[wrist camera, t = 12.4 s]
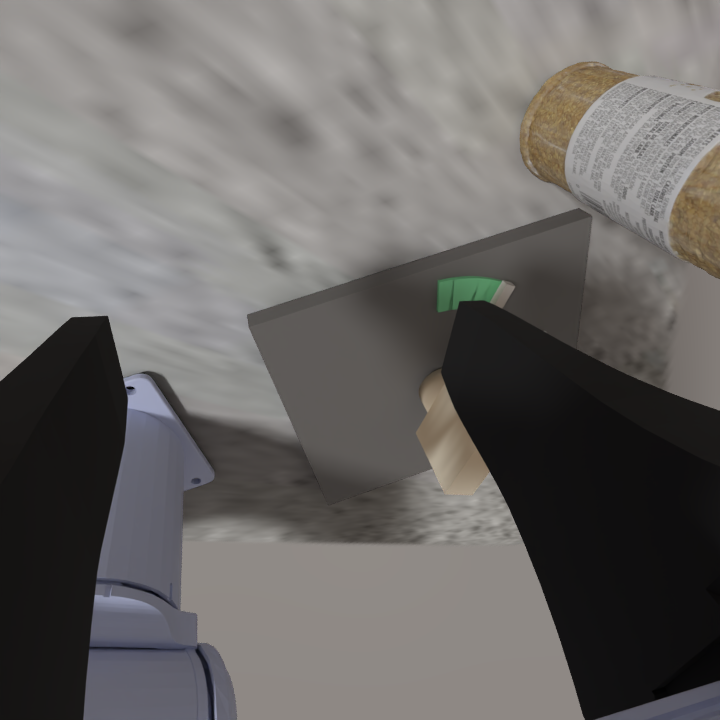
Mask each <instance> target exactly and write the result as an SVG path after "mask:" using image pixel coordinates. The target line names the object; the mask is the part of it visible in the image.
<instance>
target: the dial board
mask: <svg viewBox="0 0 720 720" xmlns="http://www.w3.org/2000/svg"><path fill="white" fill-rule="evenodd" d="M591 222H592V216H591V215H589V214H588V213H586V212H584V211H583V210H581V209H579V208H578V209H575V210H572V211H569V212H565V213H562V214H559V215H556V216H553V217H550V218H547V219H544V220H541V221H537V222H534V223H531V224H528V225H525V226H522V227H519V228H516V229H513V230H510V231H506V232H503V233H500V234H497V235H494V236H491V237H488V238H485V239H482V240H478V241H475V242H472V243H469V244H466V245H463V246H460V247H457V248H454V249H450V250H447V251H444V252H441V253H438V254H435V255H432V256H429V257H426V258H423V259H419V260H416V261H413V262H410V263H407V264H404V265H401V266H398V267H395V268H391V269H388V270H385V271H382V272H379V273H376V274H373V275H370V276H367V277H363V278H360V279H357V280H354V281H351V282H348V283H345V284H342V285H339V286H335V287H332V288H329V289H326V290H323V291H320V292H317V293H314V294H311V295H308V296H304V297H301V298H298V299H295V300H292V301H289V302H286V303H283V304H280V305H276V306H273V307H270V308H267V309H264V310H261V311H258V312H255V313H252V314H248V315H247V318H248V325H249V329H250V331H251V333H252V336H253V338H254V340H255V342H256V344H257V347H258V349H259V351H260V353H261V356H262V358H263V360H264V362H265V365H266V367H267V369H268V371H269V374H270V376H271V378H272V380H273V383H274V385H275V387H276V389H277V392H278V394H279V396H280V398H281V400H282V403H283V405H284V407H285V409H286V412H287V414H288V416H289V418H290V421H291V423H292V425H293V427H294V430H295V432H296V434H297V436H298V439H299V441H300V443H301V445H302V447H303V450H304V452H305V454H306V456H307V459H308V461H309V463H310V465H311V468H312V470H313V472H314V474H315V477H316V479H317V481H318V483H319V486H320V488H321V490H322V492H323V494H324V497H325V499H326V501H327V503H328V505H331V504H334V503H336V502H339V501H342V500H345V499H348V498H351V497H353V496H356V495H359V494H362V493H365V492H368V491H370V490H373V489H376V488H379V487H382V486H385V485H387V484H390V483H393V482H396V481H399V480H402V479H404V478H407V477H410V476H413V475H416V474H419V473H421V472H424V471H427V470H430V469H433V468H432V466H431V464H430V462H429V460H428V458H427V456H426V454H425V452H424V449H423V447H422V445H421V443H420V441H419V439H418V437H417V435H416V432H417V430H418V428H419V426H420V425H421V423H422V421H423V420H424V418H425V416H426V414H427V413H428V412H427V411H426V409H425V407H424V405H423V403H422V401H421V399H420V397H419V387H420V385H421V383H422V381H423V380H424V379H425V378H426V377H427V376H428V375H429V374H431V373H432V372H434V371H436V370H438V369H441V368H442V365H443V362H444V358H445V354H446V350H447V347H448V343H449V339H450V335H451V331H452V328H453V324H454V320H455V316H456V312H457V309H458V305H459V301H477V300H485V301H487V302H489V303H490V301H491V299H492V298H493V296H494V294H495V293H496V291H497V289H498V287H499V286H500V284H501V282H502V281H503V280H504V281H508V282H511V283H512V284H513V285H514V286H515V288H514V290H513V292H512V293H511V295H510V297H509V298H508V300H507V302H506V303H505V305H504V307H503V308H502V309H504V310H506V311H508V312H510V313H512V314H513V315H515V316H517V317H519V318H521V319H523V320H524V321H526V322H528V323H530V324H532V325H533V326H535V327H537V328H539V329H540V330H542V331H544V332H546V333H548V334H549V335H551V336H553V337H555V338H557V339H558V340H560V341H562V342H564V343H566V344H567V345H569V346H571V347H573V348H575V349H576V348H577V339H578V331H579V323H580V314H581V306H582V297H583V289H584V281H585V272H586V264H587V255H588V247H589V238H590V230H591Z"/></svg>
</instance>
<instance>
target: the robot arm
mask: <svg viewBox="0 0 720 720" xmlns="http://www.w3.org/2000/svg"><path fill="white" fill-rule="evenodd" d="M441 374H442V377H443V380H444V383H445V386H446V388H447V391H448V394H449V396H450V399H451V401H452V404H453V406H454V409H455V410H456V412H457V414H458V416H459V418H460V420H461V422H462V423H463V425H464V427H465V429H466V431H467V432H468V434H469V436H470V438H471V440H472V441H473V443H474V445H475V447H476V448H477V450H478V452H479V454H480V455H481V457H482V459H483V461H484V462H485V464H486V466H487V468H488V469H489V471H490V473H491V475H492V476H493V478H494V480H495V482H496V483H497V485H498V487H499V489H500V491H501V493H502V495H503V497H504V499H505V501H506V503H507V505H508V507H509V509H510V512H511V514H512V516H513V518H514V521H515V523H516V525H517V528H518V530H519V532H520V535H521V537H522V539H523V542H524V544H525V546H526V549H527V551H528V554H529V557H530V559H531V561H532V564H533V567H534V569H535V572H536V574H537V577H538V579H539V582H540V584H541V587H542V590H543V593H544V596H545V598H546V601H547V604H548V607H549V610H550V612H551V615H552V618H553V621H554V624H555V626H556V629H557V632H558V635H559V638H560V641H561V644H562V647H563V651H564V654H565V657H566V660H567V663H568V666H569V670H570V673H571V676H572V679H573V682H574V685H575V689H576V693H577V696H578V699H579V703H580V707H581V710H582V714H583V716H584V718H585V720H720V411H718V410H716V409H713V408H710V407H707V406H704V405H702V404H699V403H696V402H693V401H690V400H687V399H684V398H682V397H679V396H677V395H674V394H672V393H669V392H667V391H664V390H662V389H660V388H657V387H655V386H652V385H650V384H648V383H645V382H643V381H641V380H638V379H636V378H634V377H631V376H629V375H627V374H625V373H623V372H620V371H618V370H616V369H614V368H612V367H610V366H608V365H606V364H604V363H602V362H600V361H598V360H596V359H594V358H592V357H590V356H588V355H586V354H584V353H582V352H581V351H579V350H577V349H575V348H573V347H571V346H569V345H567V344H566V343H564V342H562V341H560V340H558V339H557V338H555V337H553V336H551V335H549V334H548V333H546V332H544V331H542V330H540V329H539V328H537V327H535V326H533V325H532V324H530V323H528V322H526V321H524V320H523V319H521V318H519V317H517V316H515V315H513V314H512V313H510V312H508V311H506V310H504V309H502V308H500V307H498V306H496V305H494V304H492V303H489V302H487V301H485V300H477V301H459V305H458V309H457V312H456V316H455V320H454V324H453V328H452V331H451V335H450V339H449V343H448V347H447V350H446V354H445V358H444V362H443V365H442V369H441ZM127 386H132V387H134V388H135V389H132V390H130V389H127V388H126V387H127ZM214 477H215V472H214V470H213V468H212V467H211V465H210V464H209V462H208V461H207V459H206V458H205V456H204V455H203V453H202V452H201V450H200V449H199V447H198V446H197V444H196V443H195V441H194V440H193V438H192V437H191V435H190V434H189V432H188V431H187V429H186V428H185V426H184V425H183V423H182V422H181V420H180V419H179V417H178V416H177V414H176V413H175V412H174V410H173V409H172V407H171V406H170V404H169V403H168V401H167V400H166V398H165V397H164V395H163V394H162V392H161V391H160V389H159V388H158V386H157V385H156V383H155V382H154V380H153V379H152V378H151V377H150V376H149V375H146V374H135V375H132V376H129V377H126V378H123V375H122V371H121V367H120V363H119V359H118V355H117V351H116V347H115V343H114V339H113V335H112V331H111V327H110V323H109V319H108V316H95V317H72V318H70V319H69V320H68V321H67V322H66V323H64V324H63V325H62V326H61V327H60V328H59V329H58V330H57V331H55V332H54V333H53V334H52V335H51V336H50V337H49V338H48V339H47V340H46V341H45V342H44V343H43V344H41V345H40V346H39V347H38V348H37V349H36V350H35V351H34V352H33V353H32V354H31V355H29V356H28V357H27V358H26V359H25V360H24V361H23V362H22V363H20V364H19V365H18V366H17V367H16V368H15V369H14V370H13V371H12V372H10V373H9V374H8V375H7V376H6V377H5V378H4V379H3V380H1V381H0V720H237V713H236V712H237V711H236V700H235V694H234V689H233V685H232V681H231V678H230V676H229V673H228V671H227V670H226V667H225V664H224V662H223V660H222V658H221V656H220V654H219V652H218V651H217V650H216V649H215V648H214V647H213V646H211V645H209V644H207V643H197V614H196V613H190V612H184V611H180V602H181V568H182V565H181V564H182V533H183V498H184V491H186V490H189V489H192V488H195V487H198V486H201V485H204V484H207V483H209V482H211V481H212V480H213V479H214ZM194 478H197V479H194Z"/></svg>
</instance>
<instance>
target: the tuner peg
mask: <svg viewBox="0 0 720 720" xmlns="http://www.w3.org/2000/svg"><path fill="white" fill-rule="evenodd" d="M514 288H515V286H514V285H513V284H512V283H511V282H508V281H504V280H503V281H502V282H501V284H500V286H499V287H498V289H497V291H496V293H495V294H494V296H493V298H492V299H491V301H490V303H492V304H494V305H496V306H498V307H500V308H503V307H504V305H505V303H506V302H507V300H508V298H509V297H510V295H511V293H512V292H513V290H514ZM441 369H442V368H441ZM441 369H438V370H436V371H434V372H432V373H431V374H429V375H428V376H427V377H426V378H425V379H424V380H423V381H422V383H421V385H420V387H419V397H420V399H421V401H422V403H423V405H424V407H425V409H426V411H427V412H428V413H427V414H426V416H425V418H424V420H423V421H422V423H421V425H420V426H419V428H418V430H417V432H416V435H417V437H418V439H419V441H420V443H421V445H422V447H423V449H424V452H425V454H426V456H427V458H428V460H429V462H430V464H431V466H432V468H433V470H434V472H435V475H436V477H437V479H438V481H439V483H440V485H441V487H442V489H443V491H444V493H445V494H454V495H473V494H474V492H475V491H476V490H477V488H478V487H479V486H480V484H481V483H482V481H483V480H484V479H485V477H486V476H487V475H488V473H489V472H490V471H489V469H488V468H487V466H486V464H485V462H484V461H483V459H482V457H481V455H480V454H479V452H478V450H477V448H476V447H475V445H474V443H473V441H472V440H471V438H470V436H469V434H468V432H467V431H466V429H465V427H464V425H463V423H462V422H461V420H460V418H459V416H458V414H457V412H456V410H455V409H454V406H453V404H452V401H451V399H450V396H449V394H448V391H447V388H446V386H445V383H444V380H443V377H442V374H441Z"/></svg>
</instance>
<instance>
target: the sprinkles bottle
mask: <svg viewBox="0 0 720 720" xmlns="http://www.w3.org/2000/svg"><path fill="white" fill-rule="evenodd" d="M520 151H521V154H522V158H523V161H524V163H525V166H526V167H527V168H528V169H529V170H530V171H531V173H532V174H534V175H535V176H537V177H538V178H539V179H541V180H543V181H546V182H552V183H555V184H557V185H558V186H560V187H562V188H564V189H565V190H567V191H569V192H571V193H573V195H574V196H575V197H576V198H577V199H578V200H579V201H581V202H583V203H584V204H586V205H588V206H589V207H591V208H593V209H594V210H596V211H598V212H599V213H601V214H603V215H605V216H606V217H608V218H610V219H611V220H613V221H615V222H617V223H618V224H620V225H622V226H624V227H625V228H627V229H629V230H631V231H632V232H634V233H636V234H638V235H639V236H641V237H643V238H644V239H646V240H648V241H650V242H651V243H653V244H655V245H656V246H658V247H660V248H661V249H663V250H665V251H666V252H668V253H670V254H671V255H673V256H675V257H676V258H678V259H680V260H682V261H684V262H687V263H692V264H693V265H695V266H697V267H699V268H701V269H703V270H705V271H706V272H707V273H708V274H710V275H712V276H714V277H716V278H719V279H720V90H717V89H713V88H708V87H703V86H699V85H694V84H690V83H685V82H680V81H676V80H671V79H667V78H662V77H657V76H638V75H634V74H630V73H626V72H623V71H617V70H612V69H611V68H609V67H608V66H606V65H604V64H601V63H599V62H581V63H577V64H575V65H572V66H569V67H567V68H565V69H564V70H562V71H560V72H558V73H557V74H555V75H554V76H552V77H551V78H550V79H548V80H547V81H546V82H545V83H544V85H543V86H542V87H541V89H540V90H539V92H538V93H537V94H536V95H535V97H534V98H533V100H532V101H531V103H530V105H529V107H528V109H527V111H526V113H525V116H524V119H523V122H522V124H521V131H520Z"/></svg>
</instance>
